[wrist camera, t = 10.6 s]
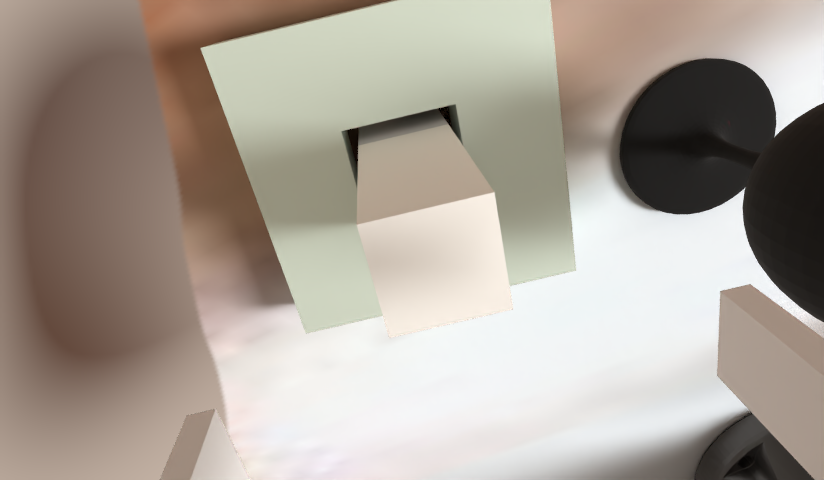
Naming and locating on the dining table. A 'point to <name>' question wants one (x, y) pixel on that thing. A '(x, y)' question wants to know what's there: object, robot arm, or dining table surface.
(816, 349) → the robot arm
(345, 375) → the dining table surface
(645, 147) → the wine glass
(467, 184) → the plug
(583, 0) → the dining table surface
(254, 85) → the socket plate
